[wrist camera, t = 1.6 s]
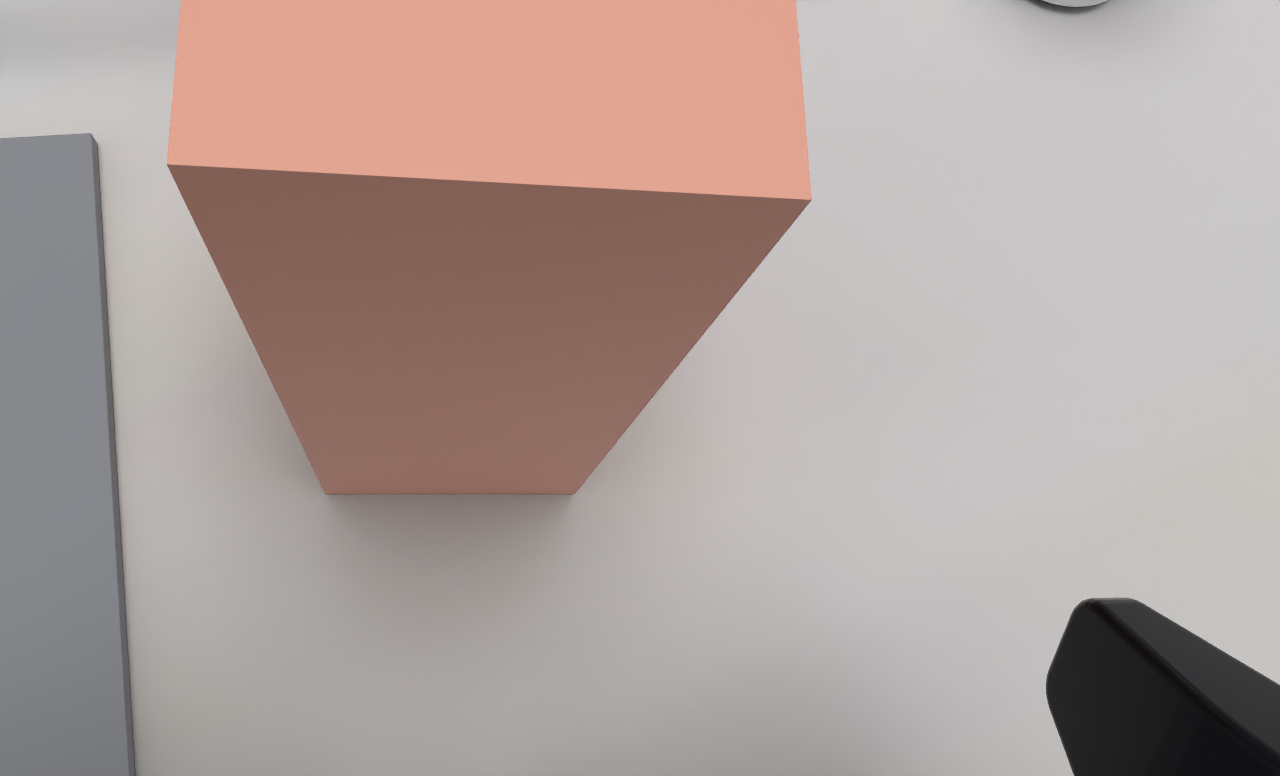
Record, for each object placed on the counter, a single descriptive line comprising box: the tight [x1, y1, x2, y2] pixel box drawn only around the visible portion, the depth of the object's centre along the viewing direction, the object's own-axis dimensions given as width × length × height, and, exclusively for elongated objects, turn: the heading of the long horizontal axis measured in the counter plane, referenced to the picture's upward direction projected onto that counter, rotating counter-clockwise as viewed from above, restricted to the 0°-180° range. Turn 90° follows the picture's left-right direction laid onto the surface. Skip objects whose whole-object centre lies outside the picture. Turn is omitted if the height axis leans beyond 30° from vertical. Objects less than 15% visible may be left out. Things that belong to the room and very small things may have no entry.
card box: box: [167, 0, 812, 494], centre depth 14 cm, size 5×4×13 cm
